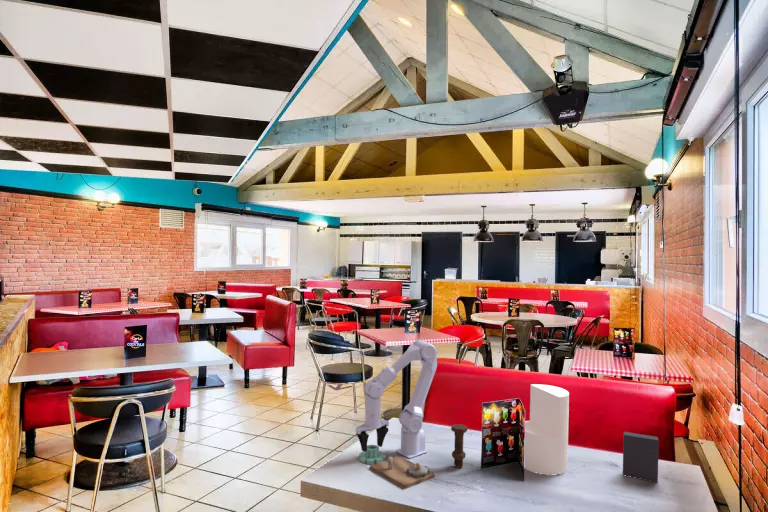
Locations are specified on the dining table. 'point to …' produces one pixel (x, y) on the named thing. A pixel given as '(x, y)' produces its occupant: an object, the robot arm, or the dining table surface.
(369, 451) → the teal gear
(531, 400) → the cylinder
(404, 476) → the gear board
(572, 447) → the dining table surface
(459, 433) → the bolt
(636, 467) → the calculator
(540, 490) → the dining table surface
